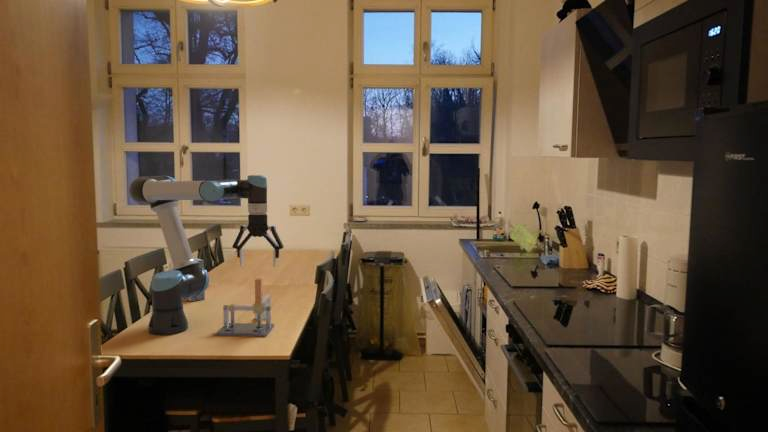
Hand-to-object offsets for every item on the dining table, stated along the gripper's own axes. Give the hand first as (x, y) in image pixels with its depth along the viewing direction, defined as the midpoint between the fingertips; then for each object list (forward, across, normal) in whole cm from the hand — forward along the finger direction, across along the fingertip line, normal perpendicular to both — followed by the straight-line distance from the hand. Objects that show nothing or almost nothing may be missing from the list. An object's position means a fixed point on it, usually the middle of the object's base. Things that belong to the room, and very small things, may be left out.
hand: (258, 265), depth 221 cm
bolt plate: (+27, -5, -2) cm, 27 cm away
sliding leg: (+25, 0, 0) cm, 25 cm away
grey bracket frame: (+25, -5, 0) cm, 26 cm away
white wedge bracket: (+27, -3, +17) cm, 32 cm away
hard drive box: (+27, -48, +49) cm, 74 cm away
